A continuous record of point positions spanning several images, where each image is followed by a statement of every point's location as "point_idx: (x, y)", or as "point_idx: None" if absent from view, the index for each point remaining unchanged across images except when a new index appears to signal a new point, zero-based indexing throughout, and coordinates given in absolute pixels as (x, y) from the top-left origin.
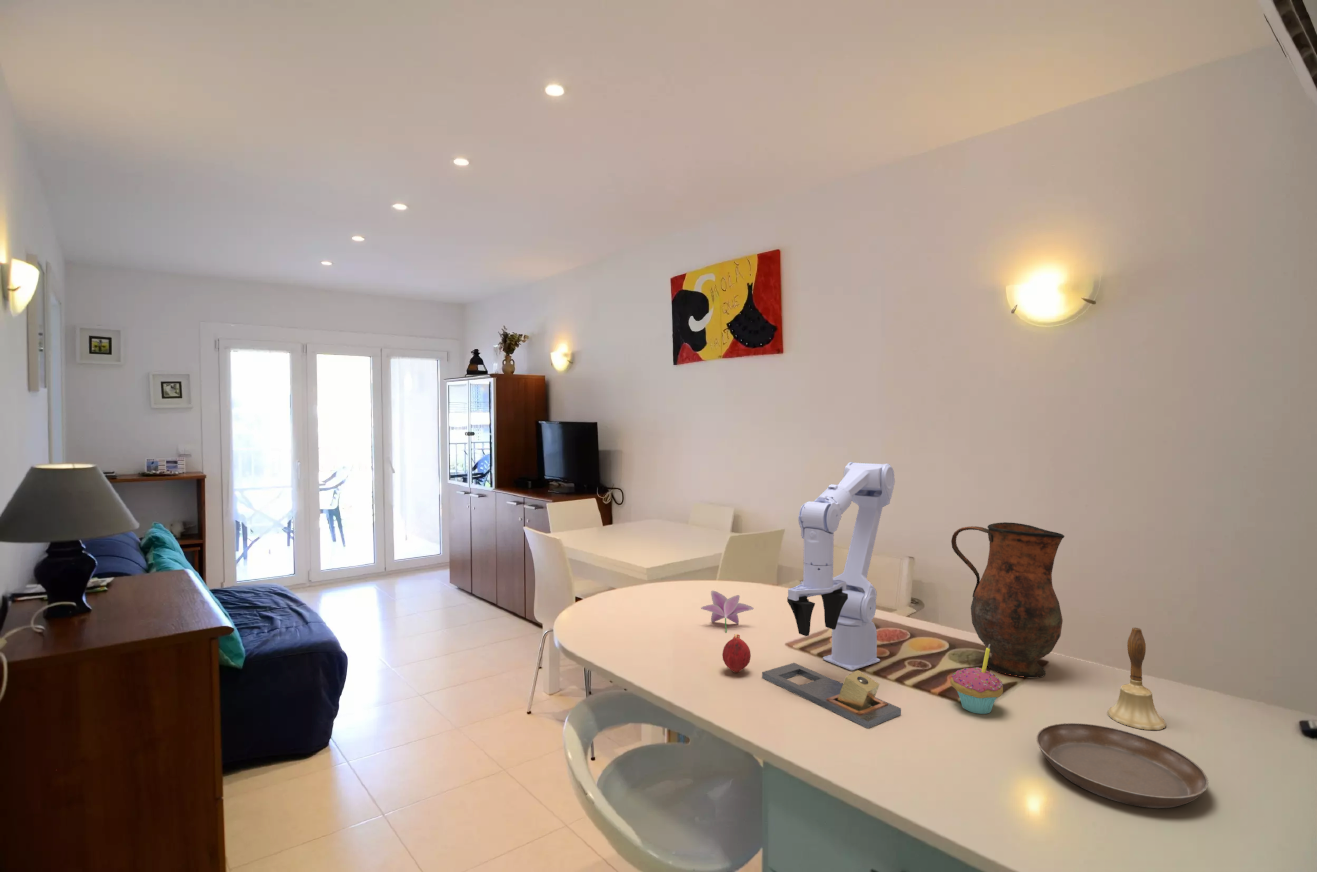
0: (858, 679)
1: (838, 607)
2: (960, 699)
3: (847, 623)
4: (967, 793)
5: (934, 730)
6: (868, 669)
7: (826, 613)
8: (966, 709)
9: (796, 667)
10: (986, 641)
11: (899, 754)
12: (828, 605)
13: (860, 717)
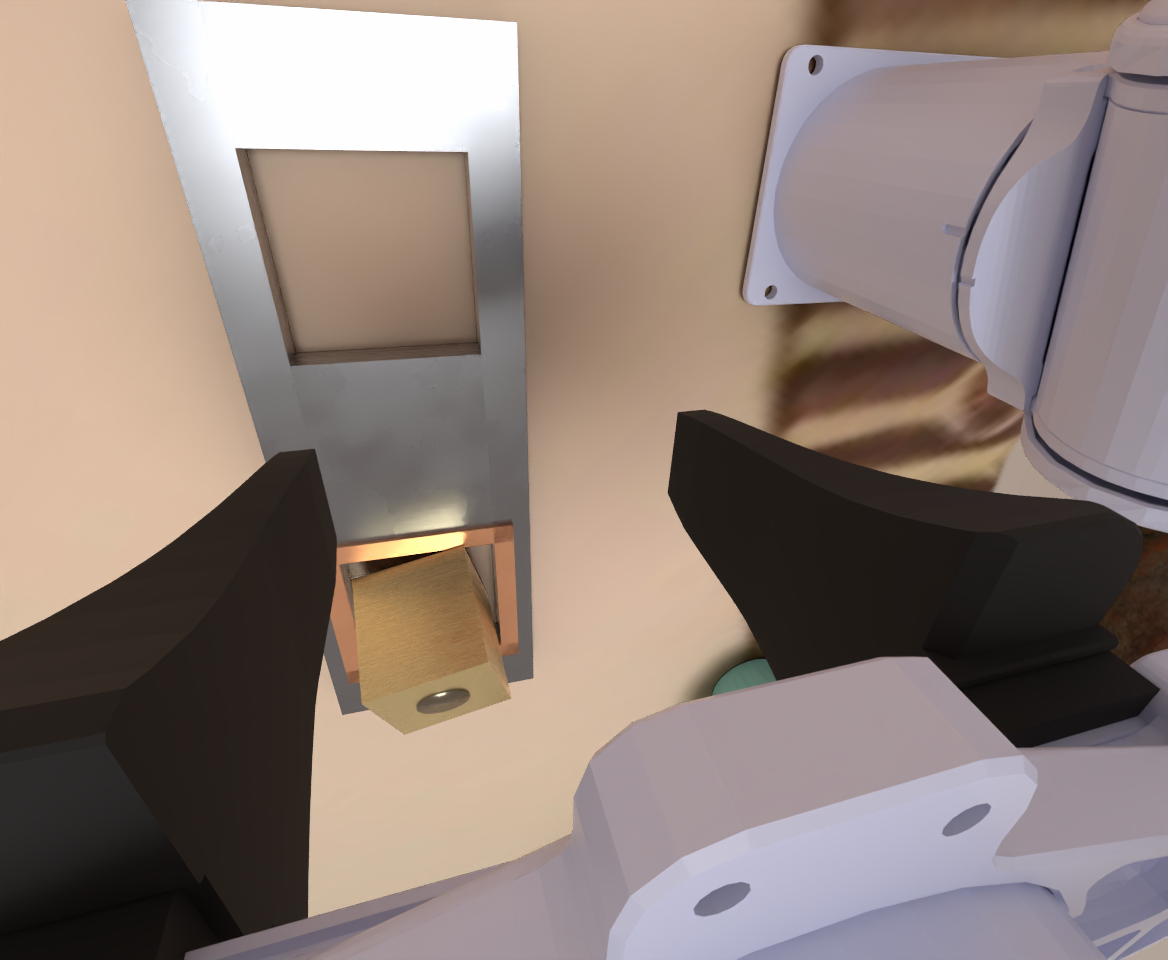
0: (423, 702)
1: (784, 677)
2: (733, 688)
3: (969, 326)
4: (335, 907)
5: (526, 738)
6: (819, 325)
7: (749, 481)
8: (714, 688)
9: (465, 118)
10: (1139, 608)
11: (317, 802)
12: (802, 566)
13: (340, 689)
